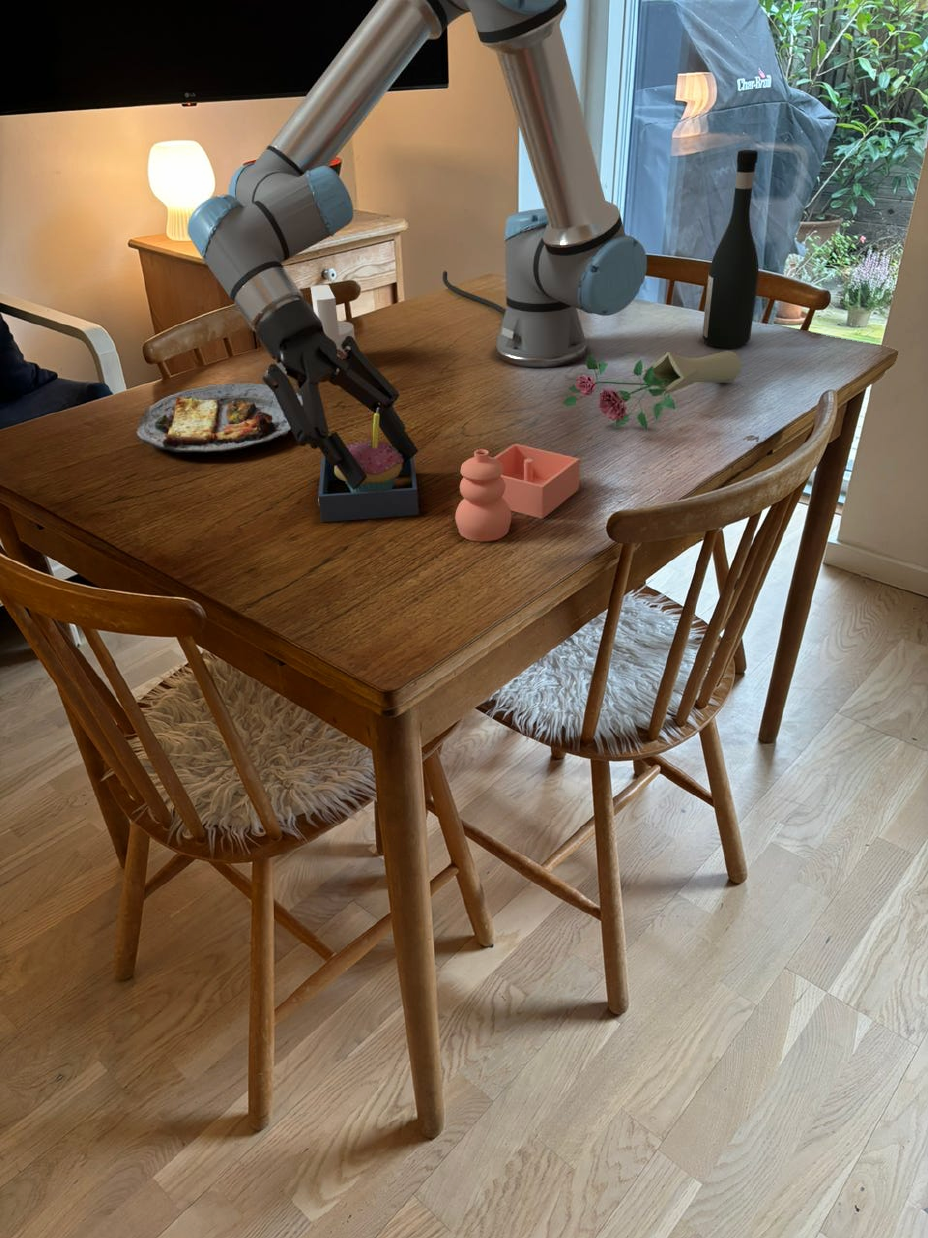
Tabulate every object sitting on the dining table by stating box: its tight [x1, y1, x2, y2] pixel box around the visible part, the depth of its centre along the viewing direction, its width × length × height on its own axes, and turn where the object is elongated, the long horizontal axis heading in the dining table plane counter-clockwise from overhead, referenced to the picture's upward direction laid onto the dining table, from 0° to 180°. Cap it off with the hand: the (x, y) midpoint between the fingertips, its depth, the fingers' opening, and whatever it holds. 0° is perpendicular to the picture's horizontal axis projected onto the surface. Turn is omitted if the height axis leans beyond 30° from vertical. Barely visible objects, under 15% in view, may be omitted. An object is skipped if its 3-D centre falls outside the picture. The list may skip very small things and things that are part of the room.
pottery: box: [454, 443, 581, 543], centre depth 113 cm, size 18×10×10 cm, turn 146°
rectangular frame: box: [317, 454, 420, 523], centre depth 119 cm, size 12×12×4 cm
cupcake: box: [334, 408, 403, 493], centre depth 117 cm, size 9×8×12 cm
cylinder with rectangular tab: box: [310, 284, 356, 373], centre depth 159 cm, size 9×9×12 cm
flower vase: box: [563, 350, 742, 431], centre depth 136 cm, size 12×12×35 cm
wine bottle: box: [702, 149, 759, 349], centre depth 155 cm, size 8×8×30 cm
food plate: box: [135, 382, 303, 454], centre depth 140 cm, size 25×23×4 cm
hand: (386, 469), depth 116 cm, fingers closed on cupcake, 8 cm apart
